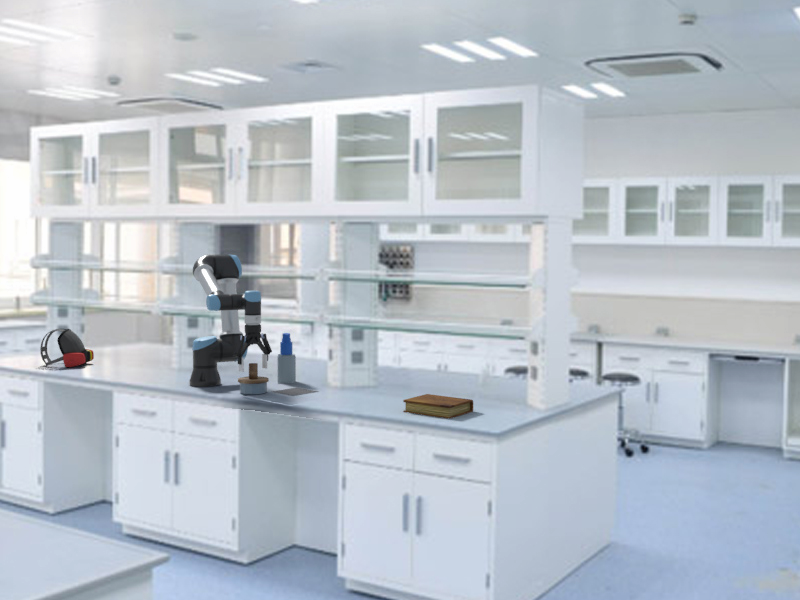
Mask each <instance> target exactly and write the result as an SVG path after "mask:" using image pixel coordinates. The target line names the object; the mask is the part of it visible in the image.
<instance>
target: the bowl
mask: <svg viewBox="0 0 800 600" xmlns="http://www.w3.org/2000/svg"><path fill="white" fill-rule="evenodd" d="M267 384H268V382H266V383H259V384H244V383H239V393H240V394H242V395H244V396H246V397H247V395H262V394H265V393H267V392H268V387H267V386H268V385H267Z"/></svg>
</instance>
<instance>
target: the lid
mask: <svg viewBox="0 0 800 600" xmlns="http://www.w3.org/2000/svg"><path fill="white" fill-rule="evenodd" d="M258 369H259V368H258V363H257V362H251V363H248V376H243V377H239V378H237V382H238V383H239V384H240V383H244V384H259V383H266V382H267V383H269V380H270V379H269V377H267V376H260V375H258V373H259V372H258V371H259V370H258Z"/></svg>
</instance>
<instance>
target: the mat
mask: <svg viewBox="0 0 800 600" xmlns="http://www.w3.org/2000/svg"><path fill="white" fill-rule="evenodd" d="M319 392H320V391H318V390H313V389H308V388H307V389H306V388H302V387H291V388H290V387H289V388H285V389H278V390H272V391H271V393H275V394H280V395H286V396H291V397H295V396H296V397H297V396H301V395H308V394H309V395H310V394H314V393H319Z"/></svg>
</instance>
